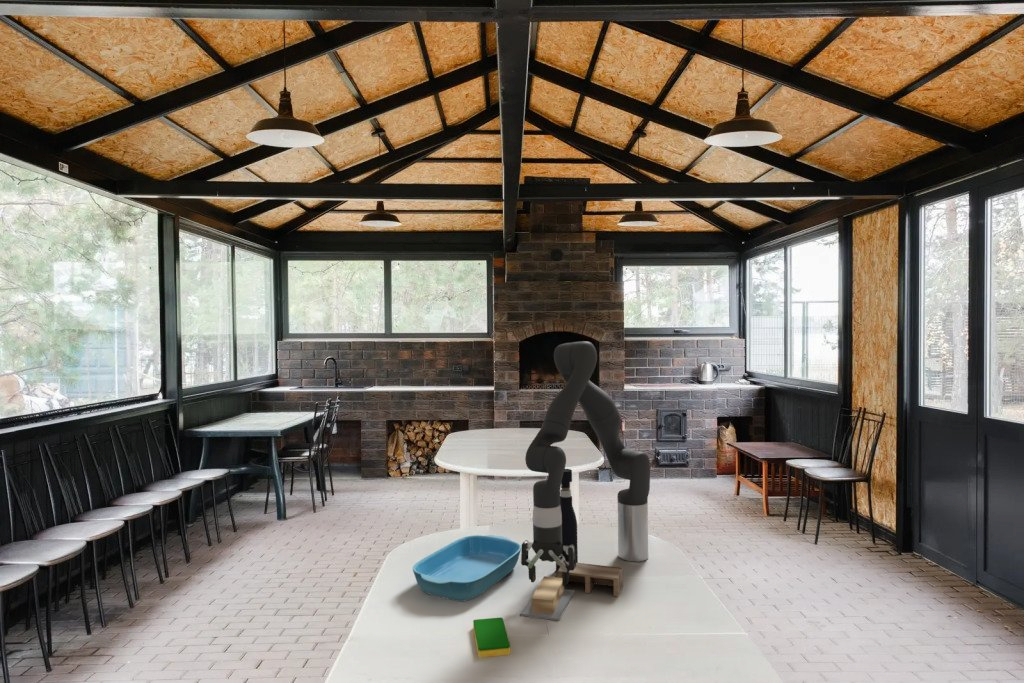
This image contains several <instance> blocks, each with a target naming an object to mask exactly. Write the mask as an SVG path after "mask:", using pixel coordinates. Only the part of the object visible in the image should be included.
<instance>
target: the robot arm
mask: <svg viewBox="0 0 1024 683" xmlns="http://www.w3.org/2000/svg"><path fill="white" fill-rule="evenodd" d="M597 352H598V351H597V349H596V347H595V346H594V344H593V343H592V342H590V341H584V340H583V341H573V342H565V343H562V344H559V345H557V346H556V347H555V348H554V352H553V360H554V364H555V366H556V369H557V371H558V372H559V374H560V376H561V378H562V379H563V380H564V382H565V385H564V386H563V388H562V389H561V390H560V392H559V393H558V394H557V395H556V396H554V399H552V401H551V402H550V404H549V405H548V408H547V410H546V413H545V415H544V420H543V422H542V425H541V428H540V430H539V431H538V433H537V434H536V435H535V437H534V438H533V440H532V442H530V444H529V446H528V448H527V450H526V453H525V458H524V459H525V464H526V468H527V469H528V470H529V471H532V472H535V473H543V474H548V475H547V476H548V477H547V479H544V480H538V481H536V482H535V483H534V484H533V486H532V487H533V488H532V500H533V509H532V519H531V520H532V533H533V535H532V539H533V541H532V542H531V541H530V542H529V540H528V539H526V540H524V541H523V542H522V543H521V551H520V553H521V554H520V556H521V557H520V563H521V566H526V567H527V569H528V579H529V581H530V583H535V582H536V580H537V579H536V578H537V572H536V569H537V567H536V565H535V564H536V563H537V562H538V560H541V561H542V562H547V561H548V562H550V563H554V562H555V564H556V563H557V565H558V566H560V567H561V569H562V570H563V572H562V583H563V586H564V587H566V586H567V585H568V584H569V582H570V581H569V571H570V570H571V571H573V570H574V568H575V567H576V557H575V546H574V545H573V544H571V545H570V546H564V545H563V543H562V514H561V506H560V490H561V482H562V477H563V473H564V469H566V465H567V456H566V453H565V450H563V449H562V447H559V446H554V445H553V444H557V443H561V442H564V441H565V440H566V438H567V436H568V434H569V433H568V432H569V429H570V426H571V423H572V420H573V416H574V413H575V410H576V408H577V405H578V404H579V405H580V407H581V408H582V411H583V413H584V414H585V417H586V418H587V421H588V422H589V424H590V426H591V427H592V429H593V431H594V432H595V435H596V436H597V439H598V441H599V443H600V445H601V447H602V448H603V451H604V453H605V455H606V456H605V457H606V458H607V461H608V464H609V466H610V468H611V470H612V472H613V474H614V475H615V476H616V477H618V478H620V479H622V480H623V479H624V480H629V486H628V488H625V489H624V488H623V489H621V490H619V491H618V492H617V539H618V540H617V544H618V545H617V554H618V555H617V556H618V557H619V558H620V559H621V560H623V561H628V562H643V561H646V560H648V559H649V516H648V514H649V512H648V511H649V510H648V509H649V508H648V507H649V506H648V504H649V503H648V501H649V500H648V499H649V498H648V497H649V494H650V487H651V484H650V483H651V460H650V457H649V455H648V454H647V453H646V452H644V451H639V450H634V449H628V448H627V447H626V446H625V445H624V443H623V441H622V439H621V437H620V430H621V426H622V417H621V416H622V415H621V414H620V412H619V409H618V407H617V406H616V404H615V402H614V400H613V399H612V397H611V396H610V395H609V394H608V393H607V392H605V391H604V390H603V389H601V388H600V387H599V386H598V385H596V384H595V383H593V381H591V380H590V379H591V377H592V375H593V373H594V372H595V369H596V366H597V361H598V353H597ZM531 548H532V550H533V552H534V553H535V555H534V556H533V557H532V559H529V551H530V549H531ZM563 550H564V551H565V552H566V554H567V555H568V557H569V564H568V563H567V562H566V560H565V558H564V556H563V555H562V552H563Z"/></svg>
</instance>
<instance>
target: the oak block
mask: <svg viewBox="0 0 1024 683" xmlns="http://www.w3.org/2000/svg"><path fill="white" fill-rule="evenodd" d="M564 589H565V586H563V583H562V578H558V576H557V577H556V576H543V577H542V579H541V581H540V583H539V584H538V586H537V588H536V589H535V591H534V592H533V594H534V595H533V594H532V596H533V597H532V596H531V597H532V612H537V613H546V614H554V611H555V609H556V607H557V605H558V603H559V601H560V599H561V596H562V594H563V592H564Z"/></svg>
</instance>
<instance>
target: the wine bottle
mask: <svg viewBox="0 0 1024 683" xmlns="http://www.w3.org/2000/svg"><path fill="white" fill-rule="evenodd" d="M572 474H573V470H572V469H571V468H565V469H564V473H563V477H562V482H561V487H560V506H561V514H562V543H563V545H564V546H570V545H571V544H573V545H574V546H575V557H576V563H579V562H578V558H579V557H578V549H579V548H578V520H577V517H576V512H575V509H574V507H573V496H572V490H571V489H570V488H571V483H572V481H573V475H572ZM562 555H563V556H564V558H565V560H566V562H569V557H568V555H567V554H566V552H565V551H564V550H563V552H562ZM559 568H560V566H558V565H557V563H556V562H555V571H556V573H557V574H558V570H559Z"/></svg>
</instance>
